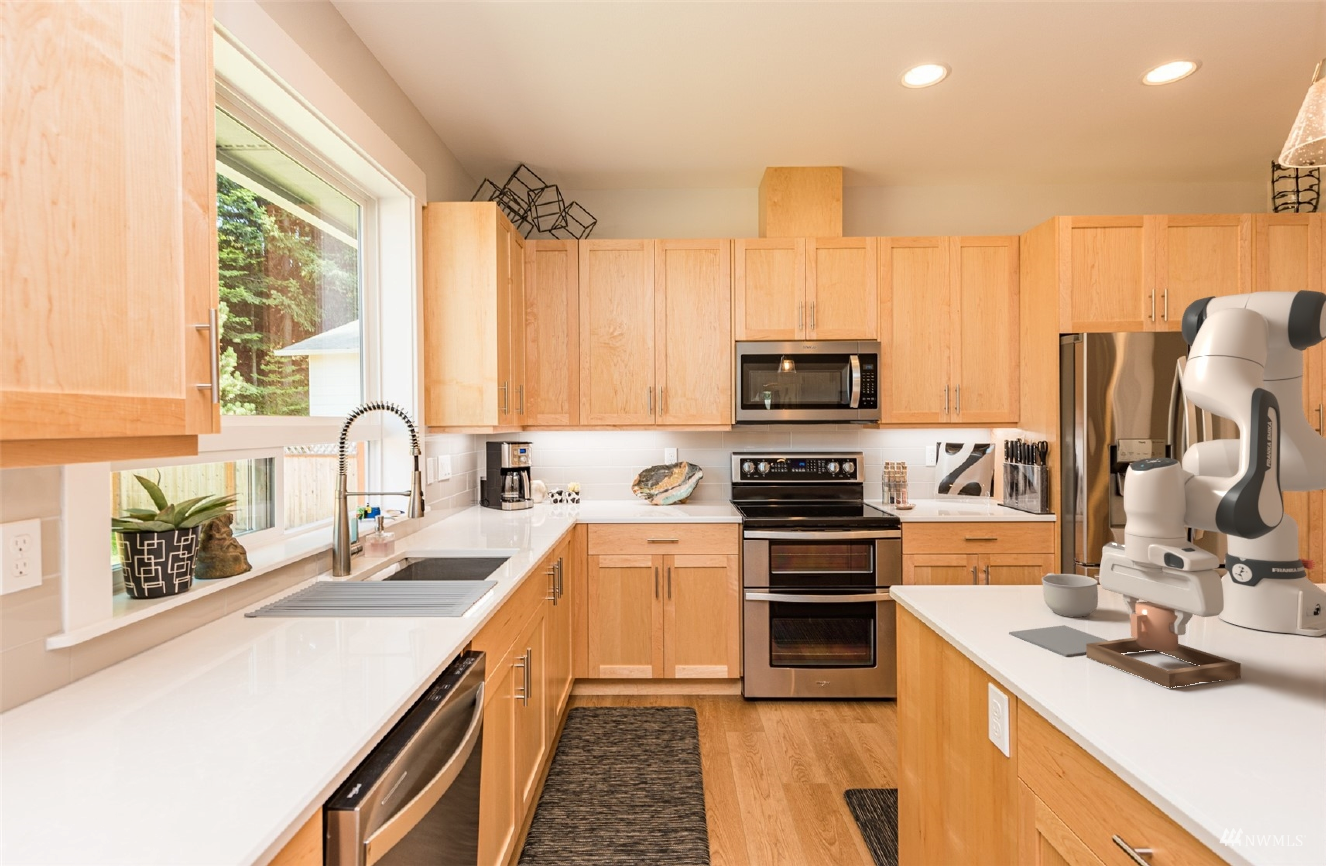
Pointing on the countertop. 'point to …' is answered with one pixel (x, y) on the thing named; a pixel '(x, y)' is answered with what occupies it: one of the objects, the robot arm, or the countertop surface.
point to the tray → (1206, 672)
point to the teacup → (1070, 594)
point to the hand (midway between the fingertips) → (1156, 627)
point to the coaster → (1059, 639)
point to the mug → (1154, 626)
